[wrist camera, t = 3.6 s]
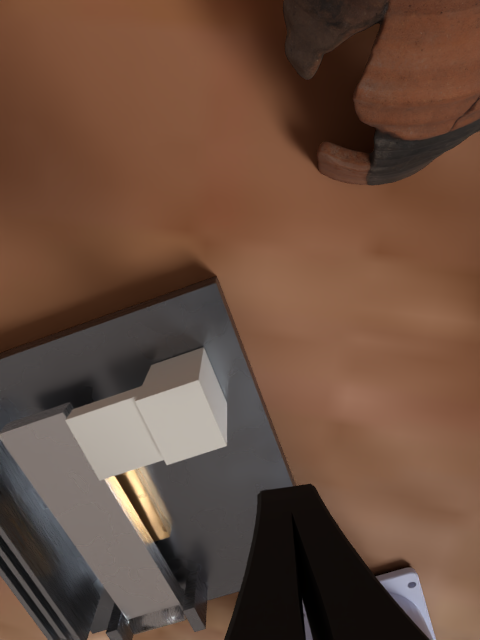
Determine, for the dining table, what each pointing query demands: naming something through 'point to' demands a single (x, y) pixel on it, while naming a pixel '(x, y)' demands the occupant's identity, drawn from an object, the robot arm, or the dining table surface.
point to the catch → (155, 418)
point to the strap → (96, 519)
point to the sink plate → (146, 482)
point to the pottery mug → (396, 79)
